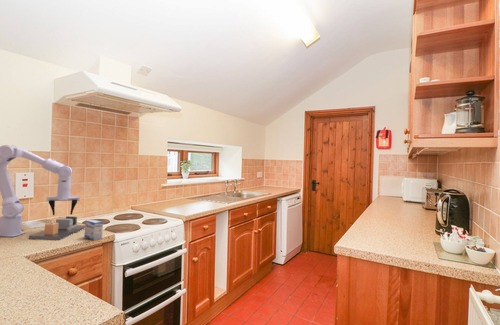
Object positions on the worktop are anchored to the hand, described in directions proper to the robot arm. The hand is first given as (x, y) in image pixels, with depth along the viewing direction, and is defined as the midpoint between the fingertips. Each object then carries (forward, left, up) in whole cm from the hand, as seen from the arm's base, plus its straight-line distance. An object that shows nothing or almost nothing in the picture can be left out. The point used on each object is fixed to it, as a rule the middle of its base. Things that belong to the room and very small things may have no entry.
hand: (62, 214), depth 145 cm
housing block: (0, -8, -8) cm, 11 cm away
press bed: (0, -1, -10) cm, 10 cm away
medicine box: (+20, -8, -10) cm, 24 cm away
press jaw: (0, +5, -8) cm, 9 cm away
